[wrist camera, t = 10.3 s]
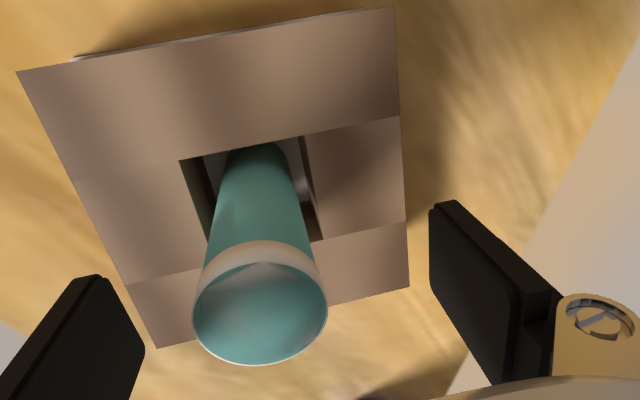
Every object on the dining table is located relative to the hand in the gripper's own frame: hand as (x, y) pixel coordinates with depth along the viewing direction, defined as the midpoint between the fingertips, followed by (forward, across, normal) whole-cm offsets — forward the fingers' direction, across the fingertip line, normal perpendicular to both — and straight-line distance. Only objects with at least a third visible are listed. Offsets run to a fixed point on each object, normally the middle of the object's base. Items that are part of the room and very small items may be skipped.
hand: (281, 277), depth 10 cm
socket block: (+11, +1, +1) cm, 11 cm away
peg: (+11, +1, +1) cm, 11 cm away
